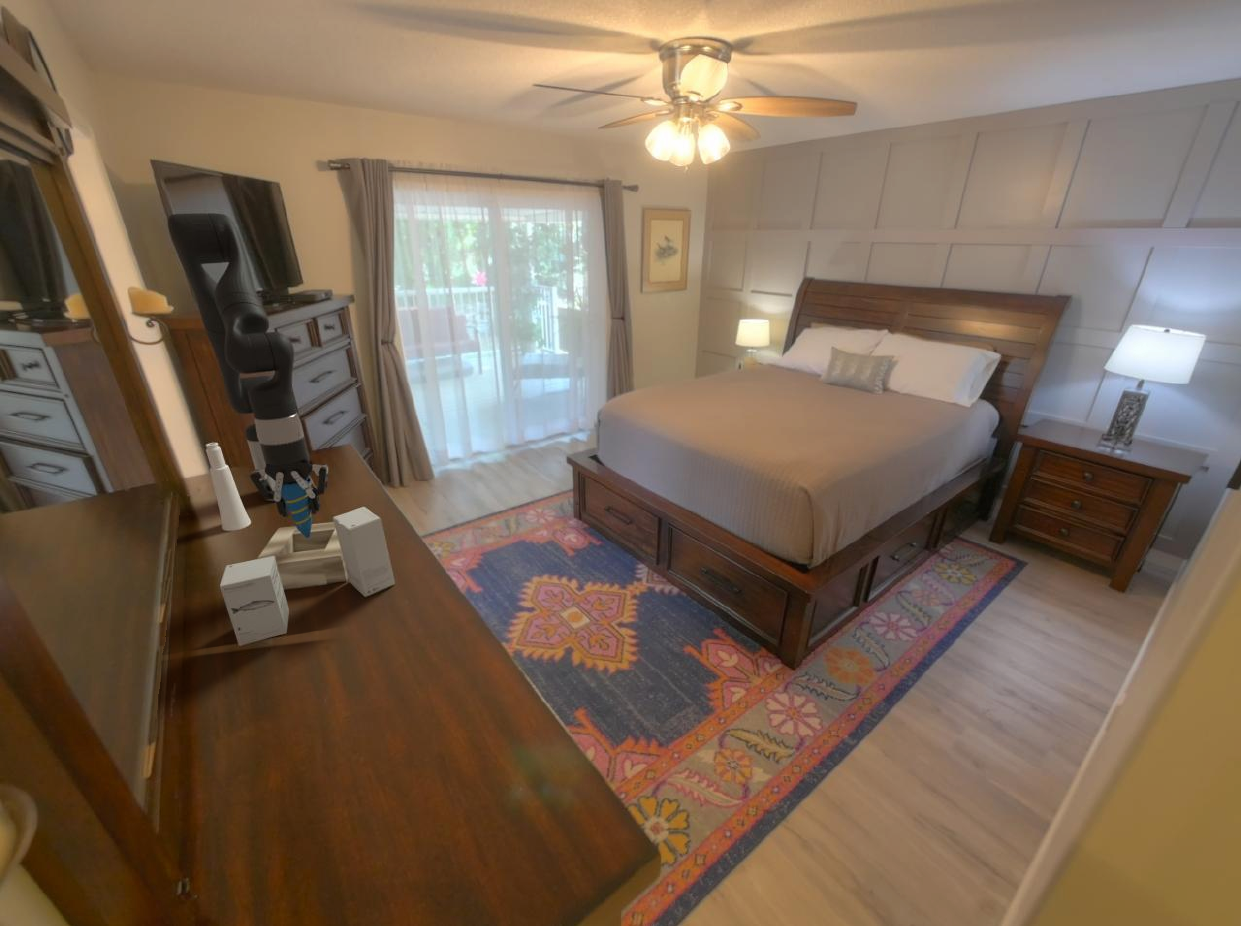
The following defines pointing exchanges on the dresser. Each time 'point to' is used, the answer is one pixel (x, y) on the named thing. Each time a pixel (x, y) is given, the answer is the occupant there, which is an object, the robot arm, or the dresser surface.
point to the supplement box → (255, 599)
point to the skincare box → (364, 550)
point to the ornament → (298, 506)
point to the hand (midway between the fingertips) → (301, 513)
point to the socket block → (307, 556)
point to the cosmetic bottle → (226, 491)
